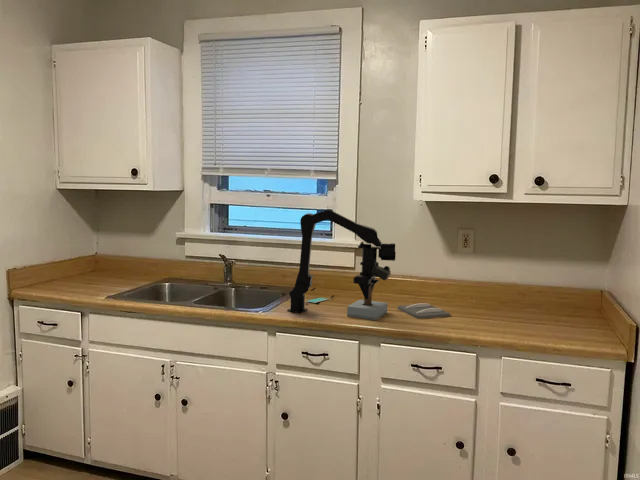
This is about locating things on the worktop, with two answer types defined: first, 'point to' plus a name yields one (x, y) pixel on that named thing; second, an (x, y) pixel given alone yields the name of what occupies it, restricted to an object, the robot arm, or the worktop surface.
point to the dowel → (368, 301)
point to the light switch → (423, 311)
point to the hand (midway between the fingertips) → (367, 298)
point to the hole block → (367, 310)
